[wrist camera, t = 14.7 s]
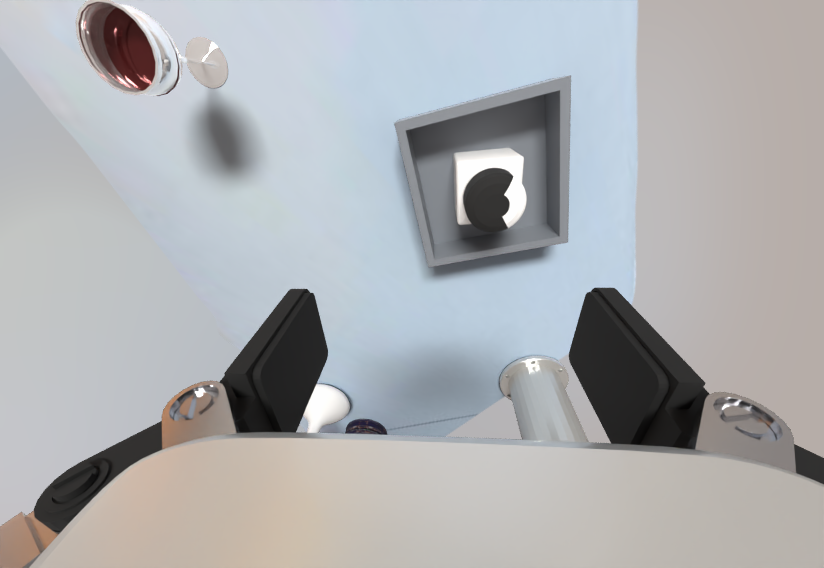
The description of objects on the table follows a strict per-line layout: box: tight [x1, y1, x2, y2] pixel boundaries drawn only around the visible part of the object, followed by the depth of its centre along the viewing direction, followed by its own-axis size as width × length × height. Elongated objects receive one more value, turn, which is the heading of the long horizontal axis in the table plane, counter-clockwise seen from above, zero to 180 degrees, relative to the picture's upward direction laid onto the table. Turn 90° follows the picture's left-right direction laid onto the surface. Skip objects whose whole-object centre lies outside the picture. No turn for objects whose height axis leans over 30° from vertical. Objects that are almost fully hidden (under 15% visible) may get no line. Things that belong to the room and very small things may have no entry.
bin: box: [395, 76, 571, 267], centre depth 39 cm, size 18×18×6 cm
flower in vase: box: [303, 384, 350, 433], centre depth 56 cm, size 13×11×25 cm
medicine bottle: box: [453, 148, 527, 232], centre depth 35 cm, size 7×7×12 cm
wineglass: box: [76, 0, 228, 96], centre depth 32 cm, size 7×7×12 cm
